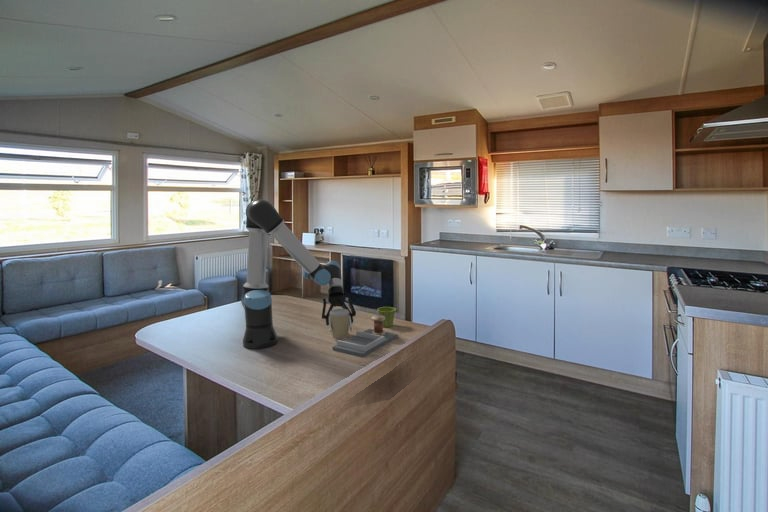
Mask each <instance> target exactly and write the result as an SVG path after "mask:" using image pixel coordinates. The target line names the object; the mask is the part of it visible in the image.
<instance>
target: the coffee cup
mask: <svg viewBox="0 0 768 512" xmlns="http://www.w3.org/2000/svg"><path fill="white" fill-rule="evenodd" d="M349 310H350V309H349ZM349 310H347V309H343V308H333V309H332V310H331V311H330V313H329V314H330V316H329V317H330V321H331V336H332V338H334V339H344V338H347V337H348V336H349V331H350V327H349Z"/></svg>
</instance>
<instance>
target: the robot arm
mask: <svg viewBox="0 0 768 512" xmlns="http://www.w3.org/2000/svg"><path fill="white" fill-rule="evenodd" d="M245 216H246V219H245V220H246V222H245V228H246V230H247V231H248V247H247V248H248V249H247V267H246V282H245V283H244V284H243V285H242V294H241V298H240V299H241V300H240V301H241V305H242V307H243V310H244V315H245V316H244V317H245V331H244V335H243V338H242V346H243V347H244V348H246V349H249V348H250V350H252V349H253V350H259V349H266V348H270V347H273V346H274V345H276V344H278V341H279V340H278V338H279V337H278V335H277V332H276V329H275V327H274V324H273V322H274V321H273V306H272V304H273V303H272V302H273V299H272V294H271V293H270V292H269V285H268V283H267V282H266V281H267V280H266V277H267V262H268V258H267V257H268V242H269V240H268V239H269V235H271V236H272V237H273V238H274V239H275V240H276V241H277V243H278V244H280V245H281V247H282V248H283V249H284V251H285V252H286V253H288V254H289V255H290V257H291V258H292V259H293V260H294V261H295V262H296V263H297V264H298V266H300V267H301V268H302V269H301V275H302V278H303V279H307V280H312V281H313V282H315V284H317V285H319V286H326V285H327V293H328V298H323V299H322V304H323V306H322V313H321V319H322V320H325V323H326V324H325V325H326V326H328V329H329V333H332V331H331V321H330V314H329V313H330V311H331V310H334V307H335V308H336V307H341V309H347V310H349V331H352V329H353V323H354V317H356V316H357V315H356V314H357V311H356V310H355V307H354V304H353V302H352V297H351V296H348V297H346V296H345V293H344V287H343V281H342V273H341V272H342V270H341V267H340V264H339V262H338V261H336V260H332V261H328V262H326V263H325V265H324V264H321V263H320V261H319V260H317V258H316V257H315V256H314V254H312V253H311V252H310V251H309V249H308V248H307V247H306V246H305V245H304V244H303V243H302V241H300V239H299V238H298V237H297V236H296V235H295V233H294V232H292V231H291V229H290V228H289V227H288V226H287V225H286V224H285V219H284V218H283V217H282V216H281V214H280V213H279V212H278V211H277V209H276V207H275V206H274V205H273V203H271V202H270V201H268V200H265V199H254V200H252V201H250V202H249V203H248V205H247V206H246V208H245ZM345 301H346V302H347V304H348V306H349V307H348V306H347V305H346V303H345ZM328 302H329V304H330V306H329V308H328V309H327V304H328ZM326 310H327V313H326Z"/></svg>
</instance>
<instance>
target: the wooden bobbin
mask: <svg viewBox="0 0 768 512" xmlns="http://www.w3.org/2000/svg"><path fill="white" fill-rule="evenodd" d="M384 320H385V316H382V315H379V314H378V315H372V316H371V321H373V331H372V334H375V335H380V336H383V335H385V332H386V330H384V329H383V328H384V327H383V321H384Z"/></svg>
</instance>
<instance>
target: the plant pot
mask: <svg viewBox="0 0 768 512" xmlns="http://www.w3.org/2000/svg"><path fill="white" fill-rule="evenodd" d="M376 311H377V312H378V315H382V316H385V320H384V321H383V328H386V327H387V328H392V326H394V319H395V313H396V311H397V309H396V307H392V306H382V307H378V308H377V310H376Z"/></svg>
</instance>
